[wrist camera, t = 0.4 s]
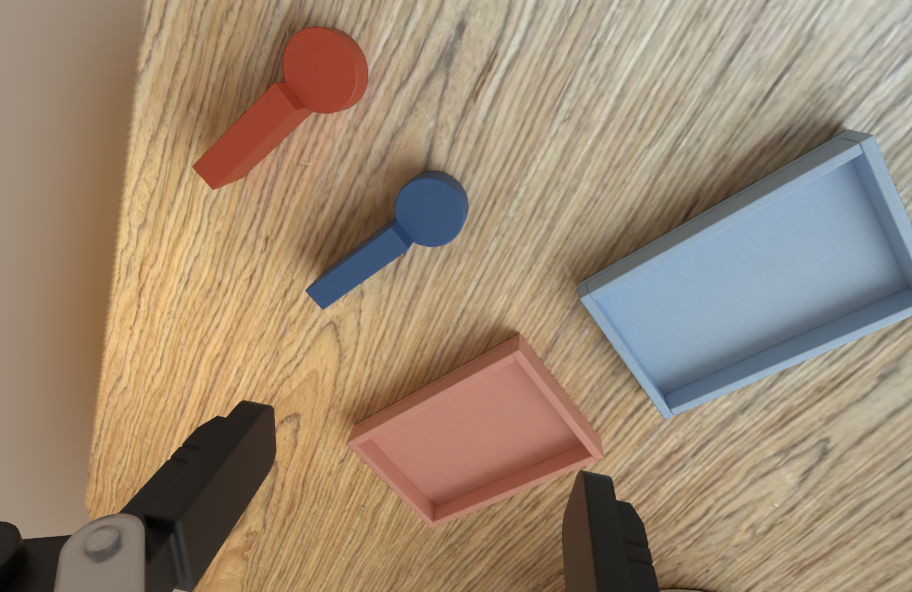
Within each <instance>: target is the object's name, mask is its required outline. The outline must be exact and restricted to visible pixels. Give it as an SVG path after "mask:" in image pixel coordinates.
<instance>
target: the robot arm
mask: <svg viewBox="0 0 912 592" xmlns="http://www.w3.org/2000/svg"><path fill="white" fill-rule="evenodd" d="M275 455H276V434H275V417H274V408H273V407H272V406H270V405H266V404H261V403H256V402H251V401H246V400H243V401H241V402H240V403H238V404H237V406H236V407H235V408H234V409H233V410H232V411H231V413H230V414H229V415H228V416H227V417H226V418H225V417H220V416H216V417H215V418H213V419H211V420H210V421H208V422H206V423H205V424H203V425H201V426H199V427H198V428H197V429H196V430H195V431H194V432H193V433H192V434H191V435H190V436H189V437H188V438H187V440H186V441H185V442H184V443H183V445H182V447H179V448H178V449H177V450H176V451H175V453H174V454H173V455H172V456H171V459H170V460H167V461H166V462H165V463H164V465H163V466H162V467H161V468H160V469H159V470H158V471H157V472H156V473H155V474H154V475H153V476H152V478H151V479H150V480H149V481H148V482H147V483H146V484H145V485H144V486H143V487H142V488H141V490H140V491H139V492H138V493H137V494H136V495H135V496H134V497H133V498H132V499H131V500H130V501H129V503H128V504H127V505H126V506H125V507H124V508H123V509H122V510H121V511H120V512H119V513H118V514H111V515H107V516H104V517H101V518H98V519H96V520H93V521H91V522H89V523H88V524H86V525H84V526H83V527H82V528H80V529H79V530H77V531H76V532H75V533H74V534H73V535H67V536H56V537H44V538H32V539H22V537H21V535H20V532H19V530H18V528H17V527H16V526H15V525H12V524H11V523H8V522H0V592H172V591H173V590H174V589H179V590H183V591H187V592H192V591H193V590H194V588H195V587H196V585H197V584H198V582H199V580H200V579H201V577H202V576H203V574H204V573H205V571H206V570H207V568H208V566H209V565H210V563H211V562H212V560H213V559H214V557H215V556H216V554H217V553H218V551H219V549H220V548H221V546H222V545H223V543H224V542H225V540H226V539H227V537H228V535H229V534H230V532H231V531H232V529H233V528H234V526H235V525H236V523H237V521H238V520H239V518H240V517H241V515H242V514H243V512H244V511H245V509H246V508H247V506H248V504H249V503H250V501H251V500H252V498H253V497H254V495H255V494H256V492H257V490H258V489H259V487H260V486H261V484H262V483H263V481H264V480H265V478H266V476H267V475H268V473H269V472H270V470H271V468H272V465H273V462H274V459H275ZM562 545H563V562H564V579H565V592H660V591H659V586H658V582H657V578H656V574H655V570H654V567H653V566H652V563H653V561H652V557H651V553H650V549H648V545H649V544H648V540H647V536H646V532H645V528H644V523H643V522H642V520H641V519H640V517H639V516H638V514H637V513H636V511H635V509H634V508H633V506H632V505H631V503H627V502H623V501H618V500H616V496H615V491H614V486H613V481H612V478H611V477H610V476H606V475H601V474H597V473H592V472H587V471H582V470H580V471H579V472H578V474H577V477H576V480H575V483H574V486H573V489H572V492H571V494H570V497H569V500H568V503H567V506H566V509H565V513H564V518H563V525H562Z"/></svg>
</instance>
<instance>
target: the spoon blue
mask: <svg viewBox="0 0 912 592" xmlns="http://www.w3.org/2000/svg"><path fill="white" fill-rule="evenodd" d="M467 214H468V199H467V195H466V193H465V191H464V189H463V187H462V186H461V185H460V183H459V182H458V181H457V180H456V179H454V178H453V177H452V176H450V175H448V174H445V173H443V172H438V171H428V172H424V173H421V174H419V175H417V176H415V177H414V178H412V179H411V180H410V181H409V182H408V183H407V184H406V185H405V186H404V187H403V188H402V189H401V191H400V192H399V194H398V196H397V198H396V202H395V218H394V219H393V220H392V221H390V222H389V223H388V224H386V225H385V226H384V227H382V228H381V229H380V230H378V231H377V232H376V233H374V234H373V235H372V236H370V237H369V238H368V239H366V240H365V241H364V242H362V243H361V244H360V245H358V246H357V247H356V248H354V249H353V250H352V251H350V252H349V253H348V254H346V255H345V256H344V257H342V258H341V259H340V260H338V261H337V262H336V263H334V264H333V265H332V266H330V267H329V268H328V269H326V270H325V271H324V272H323V273H322V274H321V275H320V276H319V277H318V278H317V279H316V280H315V281H314V282H313V283H312V284H311V285H310V286H309V287H308V288H307V289H306V292H307V293H308V294H309V295H310V296H311V298H312V299H313V300H314V301H315V302H316V303H317V304H318V305H319V306H320V307H321V309H325V308H327V307H328V306H329V305H331V304H332V303H334V302H335V301H336V300H338V299H339V298H341V297H342V296H343V295H345V294H346V293H348V292H349V291H351V290H352V289H353V288H355V287H356V286H358V285H359V284H360V283H362V282H363V281H365V280H366V279H368V278H369V277H370V276H372V275H373V274H375V273H376V272H377V271H379V270H380V269H382V268H383V267H384V266H386V265H387V264H389V263H390V262H392V261H393V260H394V259H396V258H397V257H399V256H400V255H401V254H403V253H404V252H406V251H407V250H408V249H409V248H410V246H411V245H412V243H413V242H415V243H417V244H419V245H422V246H427V247H437V246H442V245H445V244H447V243H449V242H450V241H452V240H453V239H454V238H455V237H456V236H457V235H458V234H459V232H460V231H461V229H462V227H463V225H464V222H465V220H466V217H467Z"/></svg>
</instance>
